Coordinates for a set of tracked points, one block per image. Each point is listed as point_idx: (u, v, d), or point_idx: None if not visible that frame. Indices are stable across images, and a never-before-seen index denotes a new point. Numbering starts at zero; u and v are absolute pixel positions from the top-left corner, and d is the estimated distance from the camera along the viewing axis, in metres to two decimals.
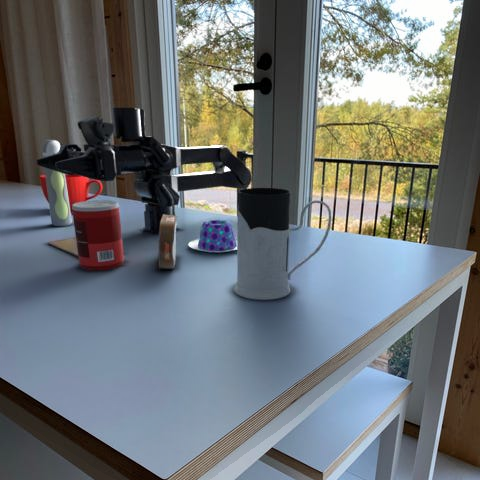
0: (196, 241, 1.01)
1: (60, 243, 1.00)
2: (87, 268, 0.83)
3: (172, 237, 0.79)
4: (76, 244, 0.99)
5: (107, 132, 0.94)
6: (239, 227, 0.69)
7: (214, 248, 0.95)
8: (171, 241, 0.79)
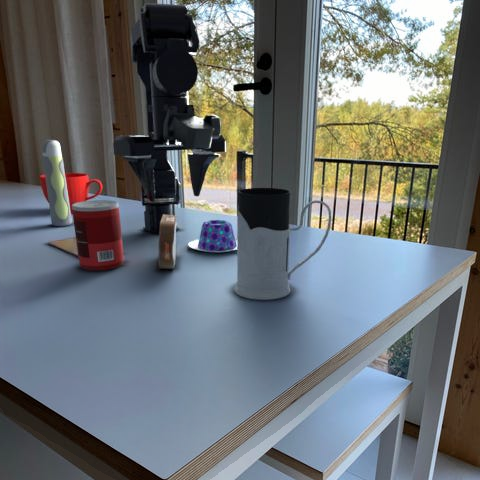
0: (196, 241, 1.01)
1: (60, 243, 1.00)
2: (87, 268, 0.83)
3: (172, 237, 0.79)
4: (76, 244, 0.99)
5: None
6: (239, 227, 0.69)
7: (214, 248, 0.95)
8: (171, 241, 0.79)
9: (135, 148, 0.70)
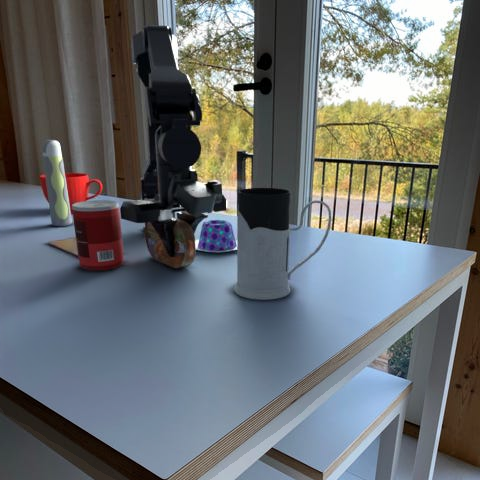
0: (196, 241, 1.01)
1: (60, 243, 1.00)
2: (87, 268, 0.83)
3: (193, 234, 0.81)
4: (76, 244, 0.99)
5: None
6: (239, 227, 0.69)
7: (214, 248, 0.95)
8: (193, 238, 0.81)
9: (141, 216, 0.74)
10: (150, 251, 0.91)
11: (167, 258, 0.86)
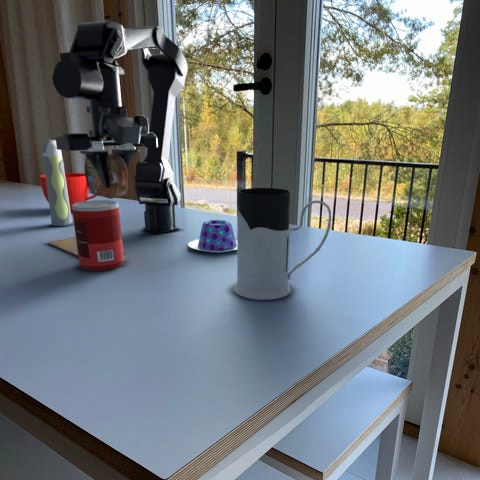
0: (196, 241, 1.01)
1: (60, 243, 1.00)
2: (87, 268, 0.83)
3: (125, 165, 0.90)
4: (76, 244, 0.99)
5: None
6: (239, 227, 0.69)
7: (214, 248, 0.95)
8: (125, 168, 0.90)
9: (73, 143, 0.83)
10: (90, 188, 1.00)
11: (104, 191, 0.95)
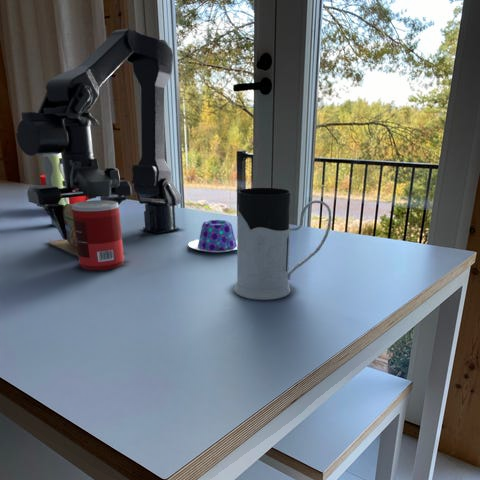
0: (196, 241, 1.01)
1: (60, 243, 1.00)
2: (87, 268, 0.83)
3: None
4: None
5: None
6: (239, 227, 0.69)
7: (214, 248, 0.95)
8: None
9: (43, 198, 0.83)
10: (67, 237, 1.00)
11: None
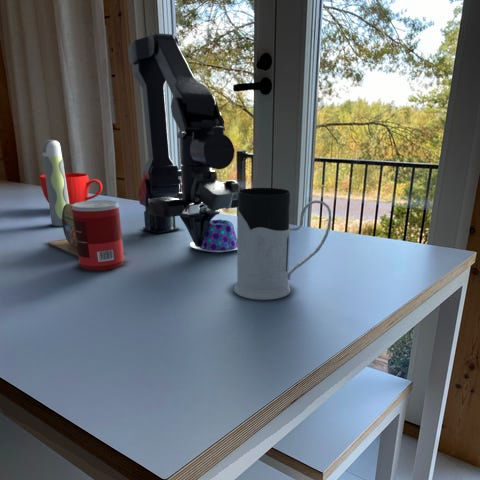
0: None
1: (60, 243, 1.00)
2: (87, 268, 0.83)
3: None
4: None
5: None
6: (239, 227, 0.69)
7: (215, 248, 0.95)
8: None
9: (168, 210, 0.84)
10: (67, 237, 1.00)
11: None
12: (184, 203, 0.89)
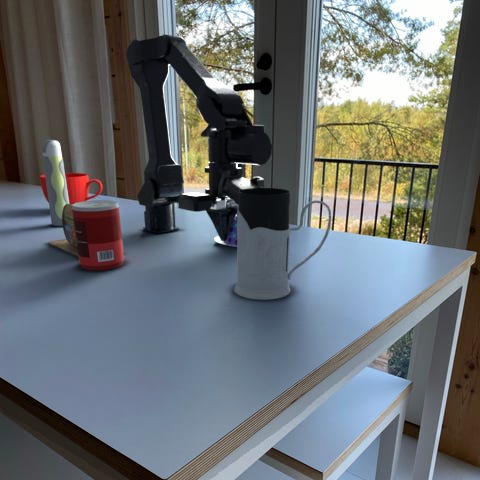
0: None
1: (60, 243, 1.00)
2: (87, 268, 0.83)
3: None
4: None
5: None
6: (239, 227, 0.69)
7: None
8: None
9: (198, 205, 0.88)
10: (67, 237, 1.00)
11: None
12: (211, 199, 0.93)
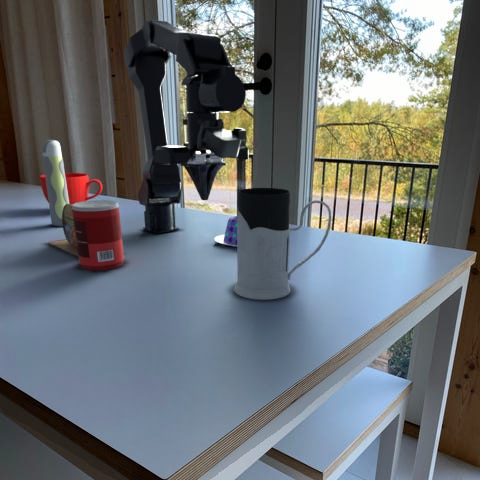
0: (221, 236, 1.05)
1: (60, 243, 1.00)
2: (87, 268, 0.83)
3: None
4: None
5: None
6: (239, 227, 0.69)
7: None
8: None
9: (174, 157, 0.82)
10: (67, 237, 1.00)
11: None
12: (190, 152, 0.87)
